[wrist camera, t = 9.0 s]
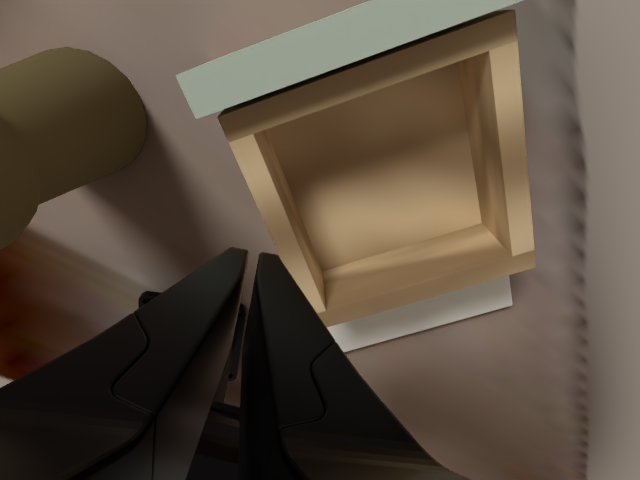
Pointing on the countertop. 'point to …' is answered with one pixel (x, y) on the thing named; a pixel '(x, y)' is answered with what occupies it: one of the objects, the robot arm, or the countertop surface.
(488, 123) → the socket block
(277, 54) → the track and backstop
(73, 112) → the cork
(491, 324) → the countertop surface
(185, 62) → the countertop surface
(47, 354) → the countertop surface
